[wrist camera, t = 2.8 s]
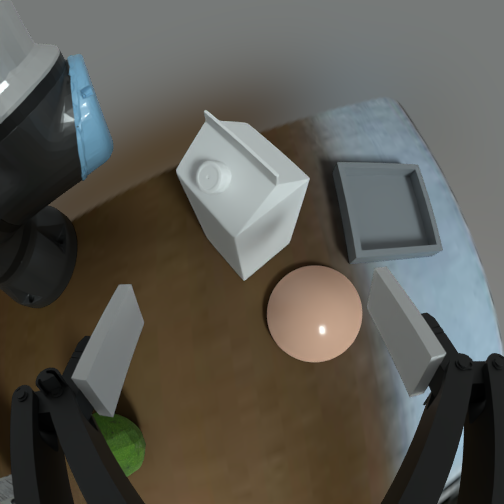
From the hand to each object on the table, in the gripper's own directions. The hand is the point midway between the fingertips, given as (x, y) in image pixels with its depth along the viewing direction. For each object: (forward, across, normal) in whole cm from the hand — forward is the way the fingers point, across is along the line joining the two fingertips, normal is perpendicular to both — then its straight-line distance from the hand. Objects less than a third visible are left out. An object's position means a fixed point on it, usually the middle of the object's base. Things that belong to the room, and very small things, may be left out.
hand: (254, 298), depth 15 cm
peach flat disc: (+13, +7, -13) cm, 19 cm away
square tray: (+21, +18, -4) cm, 28 cm away
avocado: (+3, -17, -23) cm, 29 cm away
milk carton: (+20, 0, -6) cm, 20 cm away
